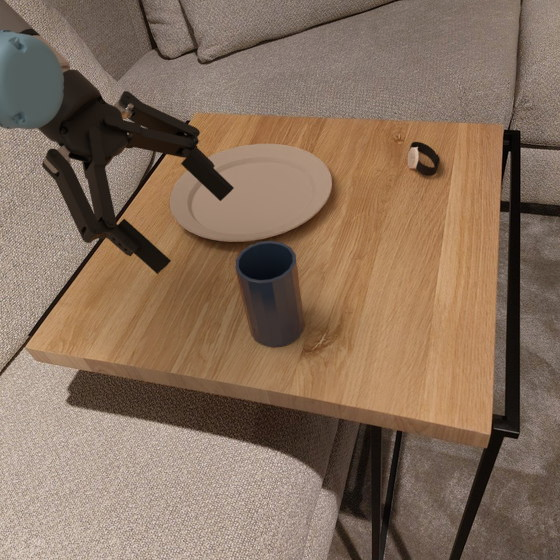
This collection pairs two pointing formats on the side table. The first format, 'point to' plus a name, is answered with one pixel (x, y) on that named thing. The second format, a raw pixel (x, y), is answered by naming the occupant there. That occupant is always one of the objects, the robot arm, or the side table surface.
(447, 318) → the side table surface
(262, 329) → the tumbler
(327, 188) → the plate
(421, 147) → the watch
